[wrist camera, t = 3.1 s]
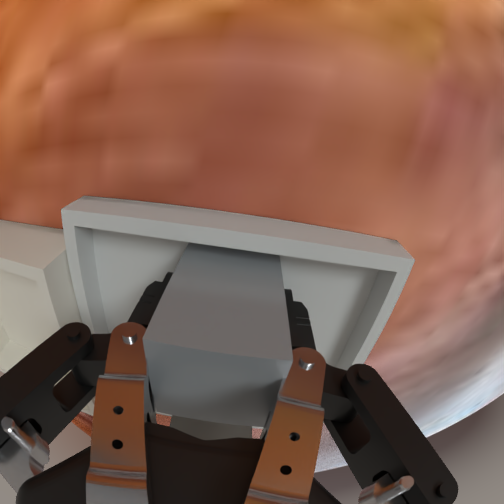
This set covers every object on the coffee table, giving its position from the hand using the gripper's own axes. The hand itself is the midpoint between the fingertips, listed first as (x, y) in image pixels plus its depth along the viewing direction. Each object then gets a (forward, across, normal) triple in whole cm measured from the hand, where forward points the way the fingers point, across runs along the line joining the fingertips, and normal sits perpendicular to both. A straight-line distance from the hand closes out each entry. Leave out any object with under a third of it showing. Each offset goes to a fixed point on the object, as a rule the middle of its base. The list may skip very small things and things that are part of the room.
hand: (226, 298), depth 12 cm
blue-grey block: (+1, 0, 0) cm, 1 cm away
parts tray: (+1, 0, +4) cm, 4 cm away
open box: (+1, +14, +5) cm, 15 cm away
